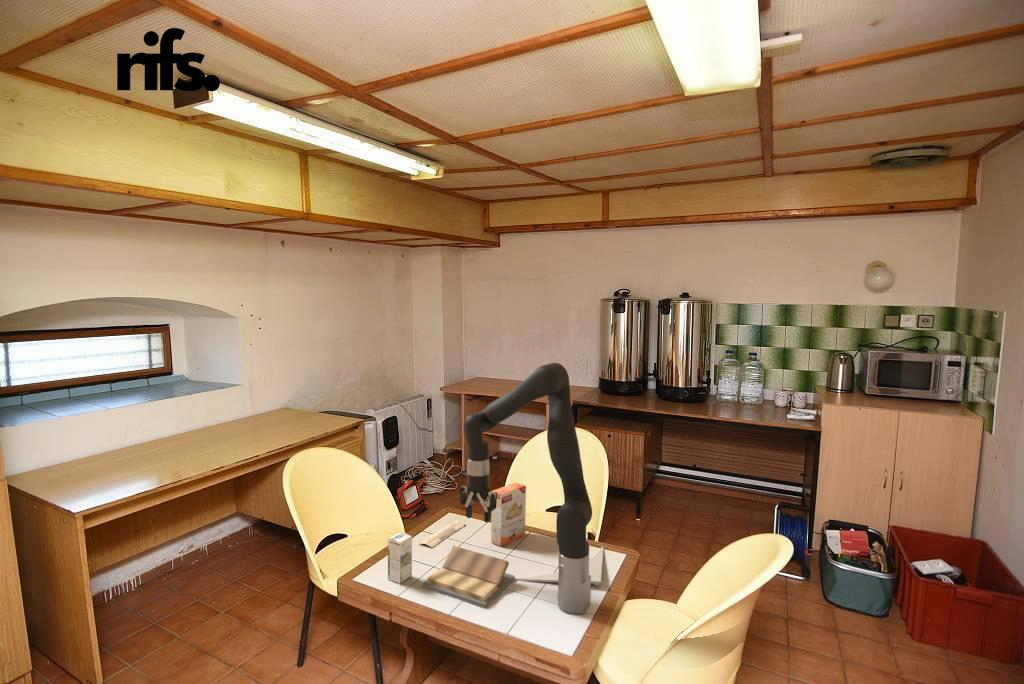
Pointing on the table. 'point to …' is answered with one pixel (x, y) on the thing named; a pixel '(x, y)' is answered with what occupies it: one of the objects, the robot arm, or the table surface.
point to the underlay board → (504, 583)
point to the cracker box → (509, 514)
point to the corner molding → (594, 571)
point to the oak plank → (462, 583)
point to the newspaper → (443, 533)
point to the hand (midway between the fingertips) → (478, 519)
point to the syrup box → (399, 557)
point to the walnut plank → (476, 565)
